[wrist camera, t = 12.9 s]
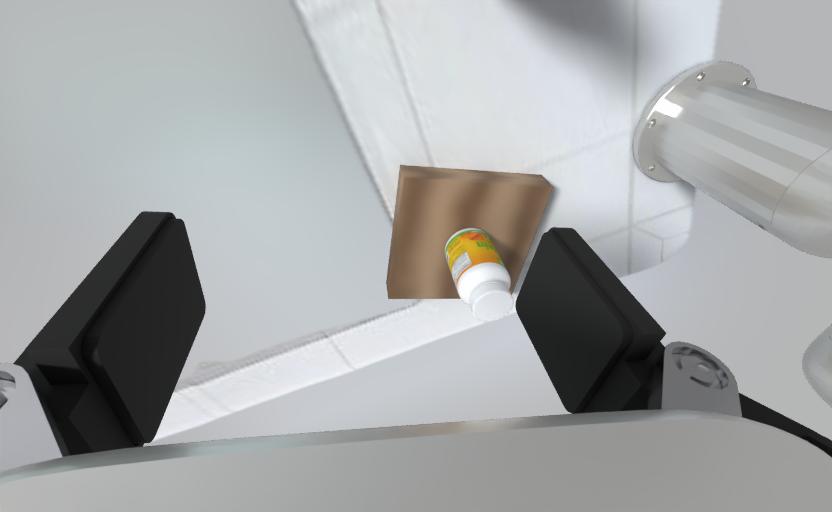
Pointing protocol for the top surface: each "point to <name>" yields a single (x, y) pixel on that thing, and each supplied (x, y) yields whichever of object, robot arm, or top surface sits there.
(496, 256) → the supplement bottle
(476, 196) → the walnut base
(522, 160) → the top surface
